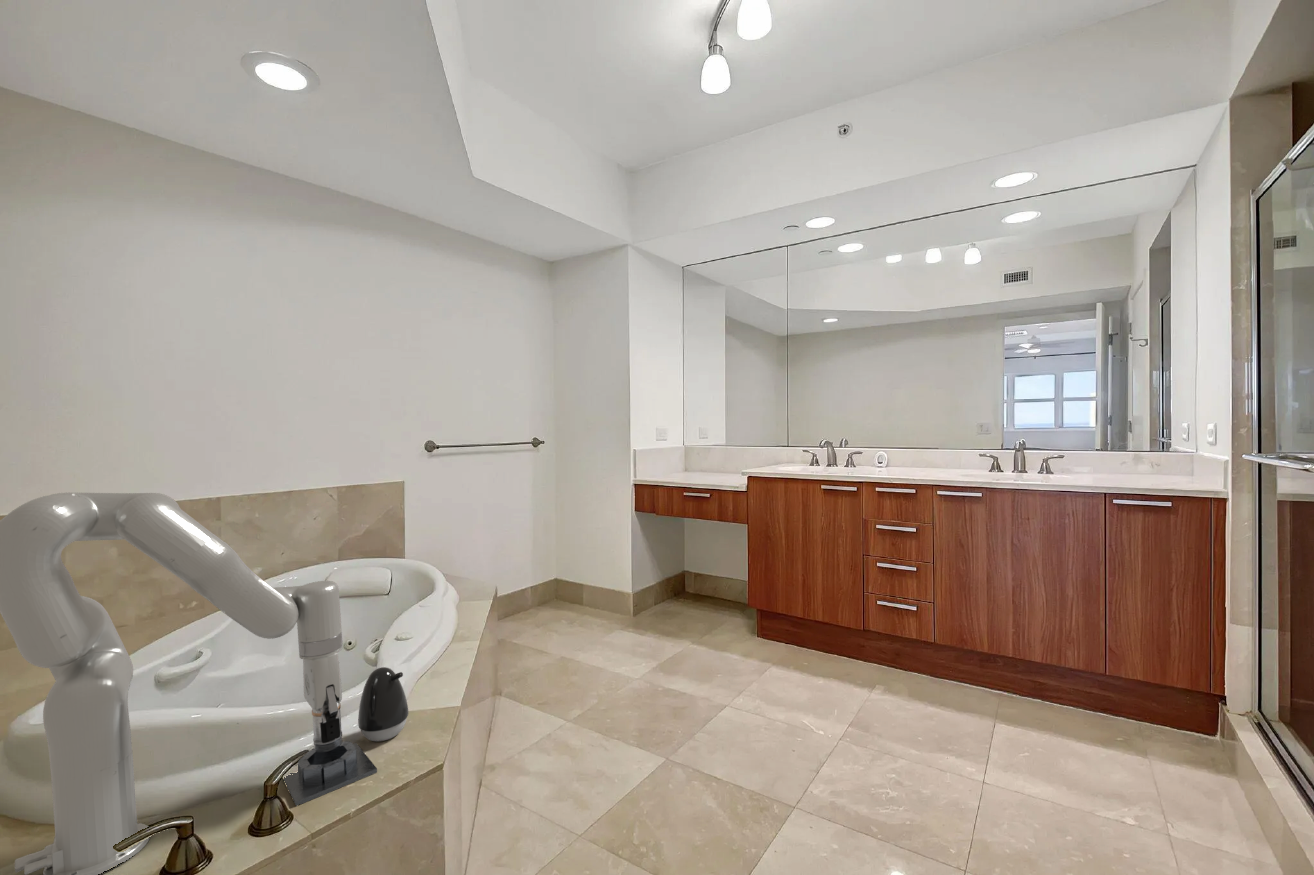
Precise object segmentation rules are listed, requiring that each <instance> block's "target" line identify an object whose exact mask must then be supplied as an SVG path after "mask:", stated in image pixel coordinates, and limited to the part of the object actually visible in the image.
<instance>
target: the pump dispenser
mask: <svg viewBox="0 0 1314 875" xmlns="http://www.w3.org/2000/svg"><path fill="white" fill-rule="evenodd" d="M403 676H404V673H403V672H402V671H400V672H397V673H396V672H394V670H393V669H391V668H389V667H387V666H385V667H384V666H382V667H378V668H376V669H374V670H373V671H372V672H371V673H370V674H369V675H368V678H367V679H366V681H365V685H364V687H363V690H362V694H361V696H360V702H359V706H358V720H357V724H358V726H357V727H358V728H359V729H360V731H361V734H362V735H363V737H365V738H366V739H367V740H369V741H371V742H383V741H387V740H390V739H392V738H394V737H396V736H397V735H398V734H400V732H401V731H402V730H403V729H404V727H405V726H406V723H407V720H408V719H407V718H408V717H409V705H408V701H407V700H408V699H407V697H406V693H405V690H404V688H403V685H402V683H401V681H400V678H402V677H403Z"/></svg>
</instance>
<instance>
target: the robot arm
mask: <svg viewBox="0 0 1314 875" xmlns="http://www.w3.org/2000/svg"><path fill="white" fill-rule="evenodd" d="M117 540H118V541H119V540H120V541H121V540H125V541H126V542H127V543H128V544H130V545H132V547H135V548H136V549H137V550H138V551H140V552H141V553H143V554H144V555H146V556H147V557H149V558H150V559H152V560H153V561H154V562H156V563H157V564H159V565H160V566H162V567H163V568H164V569H166V570H167V571H168V572H170V573H171V574H173V575H174V576H176V577H177V578H179V579H180V580H182V582H184V583H185V584H187V586H189V587H190V588H191V589H192V590H194V591H195V592H196V593H197V594H199V595H200V596H201V597H203V598H204V599H205V600H207V601H209V602H210V603H211V604H212V605H213V606H215V607H216V608H217V609H218V610H220V611H221V612H222V613H223V614H225V616H227V617H228V618H230V619H231V620H233V621H234V622H236V623H237V624H239V625H240V626H241V627H243V628H244V629H245V630H246V631H247V630H248V631H249V632H250V633H252V634H253V635H255V636H257V637H259V638H262V639H267V640H270V639H272V640H273V639H278V638H281V637H283V636H285V635H286V634H288V633H289V632H290V631H292V630H293V629H294V627H295V626H296V629H297V639H298V640H297V641H298V656H299V659H300V660H302V661H303V663H302V664H303V665H302V669H303V671H302V672H303V673H302V674H303V677H302V678H303V696H304V699H305V702H307V704H308V705H309V706H310V707H311V710H312V709H313V710H316V711H317V710H318V709H320V710H321V718H322V722H321V723H320V728H321V741H322V743H326V742H329V741H331V740H334V739H337V738H339V737H340V724H339V714H338V707H337V703H340V704H341V702H342V699H343V694H342V692H343V691H342V690H343V689H342V687H343V686H342V678H341V677H342V676H341V667H340V660H339V652H340V651H342V650H343V648H344V644H343V632H342V616H341V614H342V613H341V603H340V602H341V601H340V590H339V589H340V588H339V586H338V584H337V583H336V582H335V581H332V580H319V581H314V582H309V583H306V584H303V585H292V586H280V587H279V586H277V587H273V586H271V585H270V584H269V583H267V582H266V581H265V580H263V579H262V578H261V577H260V576H259V575H257V574H256V573H255V572H254V571H253V570H252V569H251V568H250V567H249V566H247V564H246V563H245V562H244V561H243V559H242V558H241V557H240V555H239V554H238V553H237V552H236V550H235V549H233V548H232V547H231V546H230V545H229V544H228V543H227V542H226V541H224V540H222V539H221V538H220V537H218V536H217V535H216V534H214V533H213V532H211V530H209V529H207V528H206V526H204V525H202V524H201V523H200V522H198V521H197V520H196V519H195V518H193V517H192V516H191V515H189V514H188V513H187V512H186V511H184V510H183V509H181V507H180V505H179V503H178V502H177V501H176V500H175V499H174V498H172V497H171V496H169V495H167V494H164V493H160V492H138V493H137V492H130V493H127V492H121V493H119V492H59V493H52V494H49V495H45V496H44V495H43V496H40V497H37V498H34V499H31V500H29V501H27V502H24V503H23V504H21V505H19V506H18V507H16V508H15V509H14V510H12V511H11V512H9V513H8V514H6V515H5V516H4V517H3V518H2V519H0V615H1V617H2V620H3V622H4V624H5V625H6V627H7V629H8V631H9V633H10V634H11V635H10V636H11V637H12V639H13V641H14V643H15V645H16V648H17V650H18V652H19V654H20V655H21V657H22V658H23V659H24V660H25V661H26V662H27V663H29V664H31V665H33V666H34V667H38V668H42V669H43V668H44V669H49V671H50V673H51V674H52V676H53V678H54V680H55V682H54V683H53V685H52V686H51V688H50V689H49V691H48V692H47V696H46V697H45V700H44V704H43V710H42V720H43V721H42V722H43V727H44V732H45V737H46V742H47V748H48V757H49V769H50V778H51V790H52V805H53V808H52V809H53V819H54V820H53V821H54V833H55V834H54V838H53V843H51V844H48V845H46V846H45V847H44V849H41V850H39V851H36V852H33V853H28V854H26V855H24V856H21V857H18V858H15V860H14V872H15V874H16V873H17V874H18V873H19V872H23V871H24V875H29V874H33V873H34V872H37V871H39V870H41V869H43V872H42V873H43V875H98V874H100V875H102V874H104V873H105V872H104V871H107V870H108V869H110V868H111V867H114V866H116V865H118V864H119V863H122V862H124V863H125V862H126V860H127V861H128V860H130V859H131V858H133V857H134V856H135V855H137V854H138V853H139V852H140V851H141V850H142V849H143V848H144V847H145V846H146V845H147V843H148V842H149V840H150V838H148V839H146V840H144V841H142V842H139V843H138V844H137V845H134V846H133V847H131V848H129V849H127V850H126V851H124V852H117V851H115V850H114V849H113V846H114V845H115V844H118V843H119V842H121V841H122V840H124V839H125V838H128V837H130V836H131V835H133V834H135V833H137V832H138V831H140V830H142V829H145V828H147V827H149V826H148V825H147V824H144V823H138V816H137V801H136V800H137V799H136V787H135V772H134V771H135V770H134V757H133V756H134V755H133V747H132V746H133V745H132V744H133V742H132V734H131V723H130V712H129V701H128V700H129V690H130V687H131V683H132V679H133V676H134V675H133V674H134V666H133V662H132V659H131V657H130V655H129V653H128V651H127V649H126V647H125V645H124V642H123V640H122V638H121V636H120V635H119V632H118V630H117V628H116V626H115V624H114V623H113V620H112V618H111V617H110V614H109V612H108V611H107V610H106V608H105V607H104V606H103V605H102V603H100V602H99V601H97V600H95V599H93V598H91V597H88V596H83V595H81V594H80V592H79V591H78V588H77V587H76V584H75V583H74V578H73V577H72V575H71V574H70V572H69V570H68V569H67V567H66V566H65V564H64V562H63V559H62V552H63V550H64V549H65V548H66V547H68V546H69V545H70V544H72V543H74V542H82V541H83V542H85V541H86V542H87V541H117ZM325 702H328V704H327V705H324V706H323V704H324V703H325ZM327 708H329V711H327V712H326V715H325V709H327ZM132 856H133V857H132ZM129 858H130V859H129ZM122 864H123V863H122ZM118 866H119V865H118ZM116 867H117V866H116ZM103 872H104V873H103ZM107 872H108V871H107ZM101 873H102V874H101Z"/></svg>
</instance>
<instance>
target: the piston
mask: <svg viewBox="0 0 1314 875" xmlns="http://www.w3.org/2000/svg"><path fill="white" fill-rule="evenodd" d="M327 704H328V702H325V703H324V704H323V706H324V705H327ZM337 707H338V714H339V724H340V737H339V738H337V739H334V740H331V741H329V742H326V743H322V741H321V728H320V723H321V722H322V718H321V710H320V709H318V710H317V711H316V710H313V709H312V708H311V715H312V726H313V727H312V728H313V741H312V742H313V745H314V746H313V747H314V748H313V749H315V751H316V752H327V751H330V750H333V749H335V748H337V747H338V746H340V745H341V744H342V742H343V731H342V720H341V719H342V718H341V717H342V716H341V714H342V713H341V702H340V703H337ZM327 711H329V708H327V709H325V715H326V712H327Z"/></svg>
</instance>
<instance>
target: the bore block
mask: <svg viewBox="0 0 1314 875" xmlns="http://www.w3.org/2000/svg"><path fill="white" fill-rule="evenodd" d="M297 765H298V772H297V773H290V774H291V775H288V776H286V778H285V777H284V781H285V783H286V785H287V788H288V790H289V792H290V794H291V796H292V798H293V800H292V802H293V801H294V802H293V804H294V803H295V804H294V806H295V805H296V806H295V807H297V805H298V806H300V805H299V804H301V805H303V804H305V803H308V802H310V801H312V799H313V800H315V799H317V798H319V797H322V796H324V795H326V794H329V793H332V792H334V791H337V790H339V789H340V788H341V789H342V788H344V787H345V786H348V785H350V784H353V783H355V782H357V781H359V780H362V779H365V778H368V777H369V776H372V775H374V774H376V773H378V768H377V767H376V766H375V764H374V763H373V762H372V760H371V759H370V758H369V757H368V755H367V754H366V753H365V752H364V750H363V749H362V748H361V747H360V746H359V745H358V743H357V742H354V743H353V742H351V741H342V744H341V745H340V746H338V747H337V748H335V749H333V750H330V751H327V752H316V751H315V748H313V749H311V750H309V751H307V753H306V754H304V755H303V756H302V757H301V758H300V759H299V760H298V762H297ZM292 774H293V775H292ZM284 781H283V782H284ZM285 783H284V784H285ZM287 788H286V789H287ZM288 790H287V791H288ZM289 792H288V793H289ZM290 794H289V795H290ZM291 796H290V797H291ZM292 798H291V799H292ZM307 801H308V802H307Z"/></svg>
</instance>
